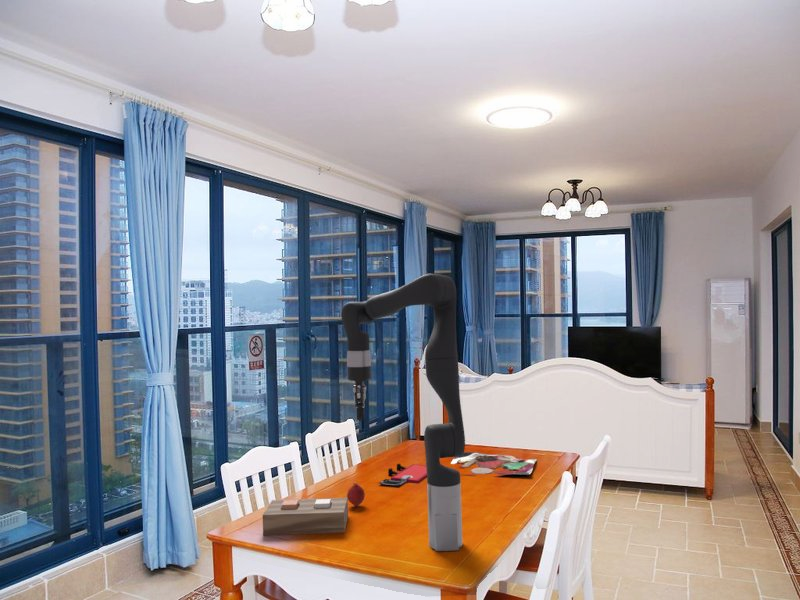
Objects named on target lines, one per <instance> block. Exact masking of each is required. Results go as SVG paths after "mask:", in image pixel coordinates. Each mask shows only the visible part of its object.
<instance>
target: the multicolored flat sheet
mask: <svg viewBox="0 0 800 600" xmlns="http://www.w3.org/2000/svg"><path fill="white" fill-rule="evenodd" d="M537 460H538V459H536V458H534V459H523V458H520V457H517V456H513V455H505V454H486V453H481V452H475V451H473V452H472V451H467V452H465V451H464V453H463V455H462V456H458V457H453V459H452V461H451V462H450V464H451V465H460V466H458V467H457V468H458V469H468V468H470V467H472V466H473V465H475V464H476V466H477V467H475V468H472V469H470V470H469V472H470V473H471V474H469V473H468V474H464V476H473V477H474V476H476V475H491V474H493V475H495V476H494V478H495V477H498V475H499V477H502V476H506V475H527V476H529V475H531V473H532V472H533V469H534V467H535V463H536V462H537ZM499 468H502V470H496V469H499Z"/></svg>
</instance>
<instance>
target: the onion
mask: <svg viewBox="0 0 800 600" xmlns="http://www.w3.org/2000/svg"><path fill="white" fill-rule="evenodd" d="M352 484H353V485H352V486H350V488H349V489H348V490H347V494H346V496H347V497H346V498H348V503H350V504H351V505H353V506H354V508H355V507H356V508H357V507H359V505H361V504H362V503H363V502H364V500H365V496H366V495H365V494H366V493H365V490H364V489H363V488H362V487H361V485H359V484H358V483H357V482H354V483H352Z"/></svg>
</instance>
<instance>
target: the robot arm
mask: <svg viewBox="0 0 800 600" xmlns="http://www.w3.org/2000/svg"><path fill="white" fill-rule="evenodd" d="M410 306H429V307H432V308H433V328H432V330H431V335H430V336H429V340H428V342H427V345H426V347H425V348H426V349H425V354H424V361H425V362H424V363H425V376H426V379H427V381H428V383H429V385H430V386H431V387H432V389H433V391H434V392H435V393H436V394H437V396H438V397H439V399H440V400H441V402H442V404H443V405H444V408H445V410H446V413H447V417H448V422H447V423H435V424H428V425H427V426H426V427H425V430H424V434H423V435H424V438H423V441H424V451H425V452H424V453H425V466H426V471H427V477H426V481H427V482H426V484H427V487H426V490H427V517H428V518H427V520H428V521H427V522H428V525H427V526H428V545H429V547H430V548H432V549H433V550H435V552H449V551H453V552H454V551H459V550H460V549H461V548H462V546H463V522H462V521H463V519H462V518H463V517H462V494H461V493H462V491H461V490H462V489H461V486H462V485H461V483H462V482H461V473H460V472H459V470H457V469H455V468H452V467H448V466H446V465H443V464H441V460H440V459H444V458H445V459H446V458H455V457H458V456H462V455H463V453H465V449H466V436H465V435H466V434H465V429H464V421H463V419H464V418H463V413H462V405H461V397H460V396H461V394H460V378H459V377H460V376H459V375H460V373H459V371H460V370H459V355H458V354H459V353H458V345H457V328H456V327H457V322H456V320H457V319H456V318H457V286H456V284H455V281H454V280H453V278H451V277H450V276H448V275H444V274H438V273H426V274H423V275H421V276H419V277H417V278H415V279H414V280H412V281H411V282H408V283H406V284H404V285H402V286H399V287H398V288H395V289H393V290H390V291H387V292H383V293H380V294H376V295H373V296H371V297H369V298H368V299H367V300H365V301H348V302H346V303H345V304H344V305H343V306H342V309H341V315H340V316H341V321H342V325H343V329H344V332H345V335H346V339H347V340H346V342H347V348H346V349H347V354H346V365H347V366H346V368H347V369H346V370H347V371H346V372H347V373H346V375H347V378H346V379H347V380H348V381H351V382H354V383H355V385H353V387H352V392H353V400H354V403H355V404H354V406H355V408H356V420H357V421H364V419H365V406H366V405H365V403H366V402H365V401H366V397H367V396H366V395H367V394H366V391H367V385H365V384H364V381H369V380H372V360H371V350H370V349H371V348H370V335H369V333H368V332H366V331H363V330H362V329H361V326H360V325H362V324H363V325H365V324H369V323H372V322H374V321H376V320H378V319H381V318H386V317H389V316H393V315H395V314H397V313H398V312H400V311H402V310H403V309H404V308H407V307H408V308H409V307H410Z"/></svg>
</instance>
